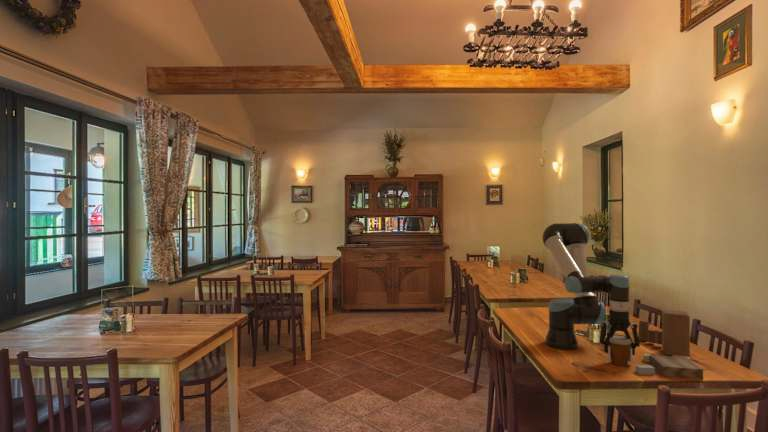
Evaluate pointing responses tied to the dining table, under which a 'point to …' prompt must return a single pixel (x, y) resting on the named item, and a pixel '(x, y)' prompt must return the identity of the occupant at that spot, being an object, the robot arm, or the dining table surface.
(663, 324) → the wooden block
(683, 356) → the brick terracotta
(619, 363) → the disposable coffee cup
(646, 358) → the brick sage
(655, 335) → the wooden block set
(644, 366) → the brick bluegrey
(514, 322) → the dining table surface
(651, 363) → the walnut slab
